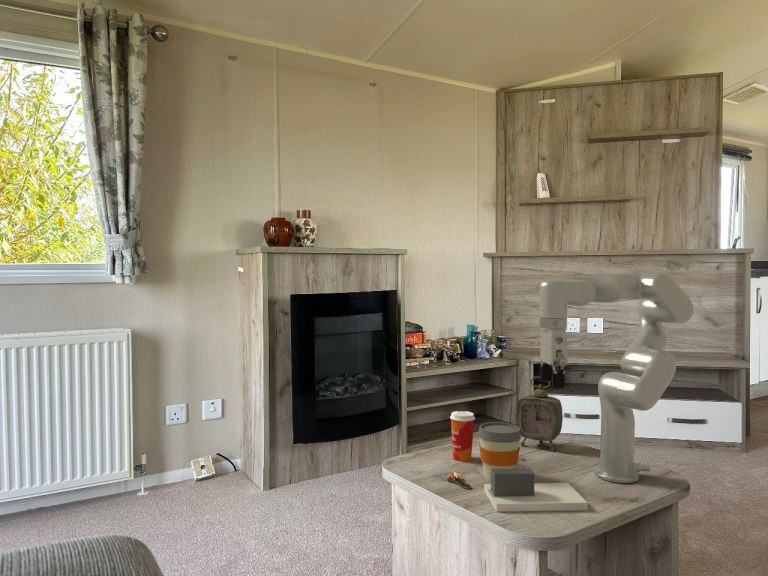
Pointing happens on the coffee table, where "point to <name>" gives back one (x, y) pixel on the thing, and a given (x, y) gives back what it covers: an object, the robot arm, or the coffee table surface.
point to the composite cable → (458, 480)
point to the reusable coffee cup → (498, 446)
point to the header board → (540, 499)
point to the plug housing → (512, 482)
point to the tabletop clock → (539, 416)
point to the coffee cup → (462, 435)
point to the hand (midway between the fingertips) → (552, 384)
